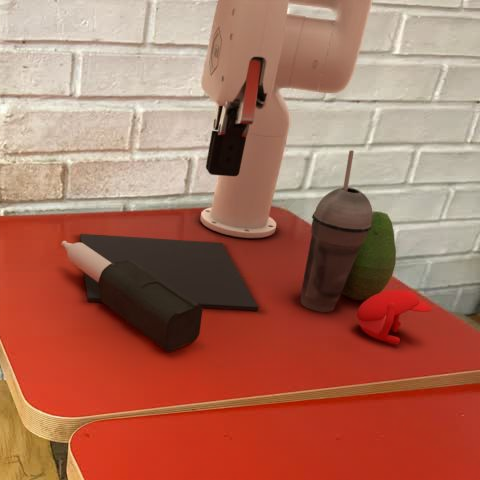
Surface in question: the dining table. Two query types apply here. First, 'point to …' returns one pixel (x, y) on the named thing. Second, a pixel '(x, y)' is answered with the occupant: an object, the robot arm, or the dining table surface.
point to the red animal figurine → (387, 313)
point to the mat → (178, 268)
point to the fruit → (373, 260)
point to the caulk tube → (141, 298)
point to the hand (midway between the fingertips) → (221, 172)
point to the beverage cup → (334, 244)
